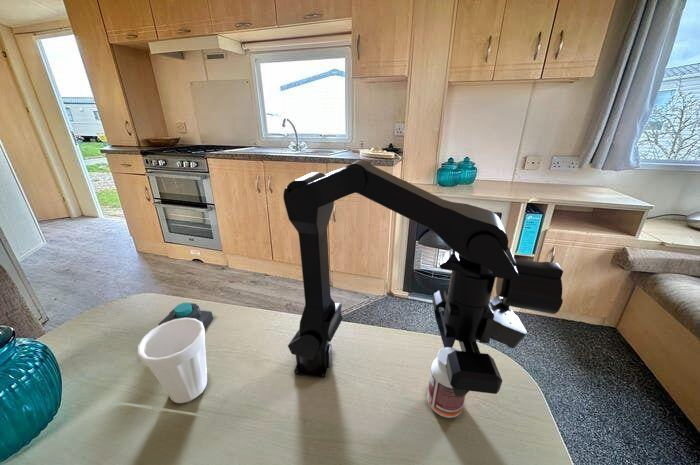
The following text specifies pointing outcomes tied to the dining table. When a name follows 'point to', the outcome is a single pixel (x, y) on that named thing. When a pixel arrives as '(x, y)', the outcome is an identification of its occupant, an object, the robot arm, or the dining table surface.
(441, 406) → the pill bottle
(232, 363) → the dining table surface
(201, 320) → the dispenser
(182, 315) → the dispenser button
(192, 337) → the cup
